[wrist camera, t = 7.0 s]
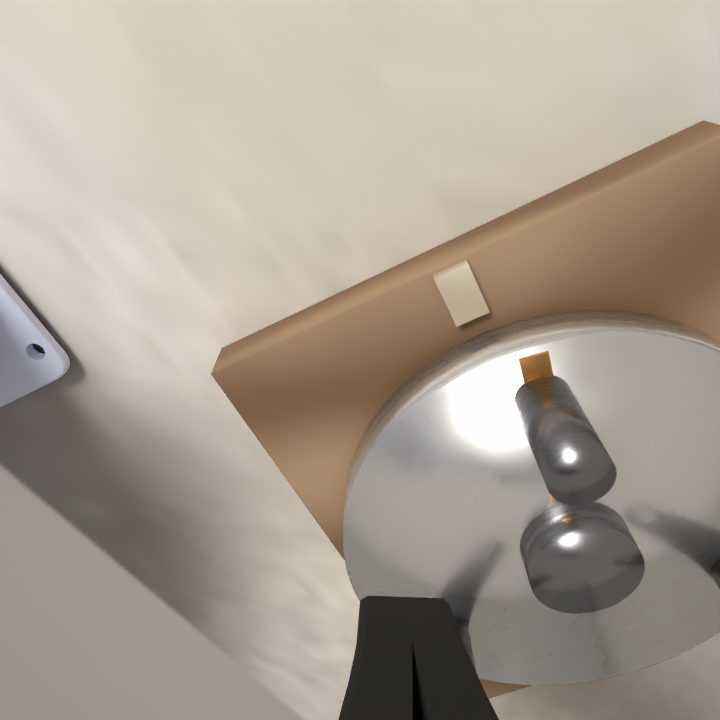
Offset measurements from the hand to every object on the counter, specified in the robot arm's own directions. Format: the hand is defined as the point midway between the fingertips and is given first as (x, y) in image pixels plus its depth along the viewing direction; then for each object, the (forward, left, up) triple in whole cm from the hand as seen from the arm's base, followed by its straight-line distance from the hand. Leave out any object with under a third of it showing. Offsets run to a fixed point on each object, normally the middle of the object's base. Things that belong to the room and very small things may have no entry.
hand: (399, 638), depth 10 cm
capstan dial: (+6, +3, -8) cm, 10 cm away
